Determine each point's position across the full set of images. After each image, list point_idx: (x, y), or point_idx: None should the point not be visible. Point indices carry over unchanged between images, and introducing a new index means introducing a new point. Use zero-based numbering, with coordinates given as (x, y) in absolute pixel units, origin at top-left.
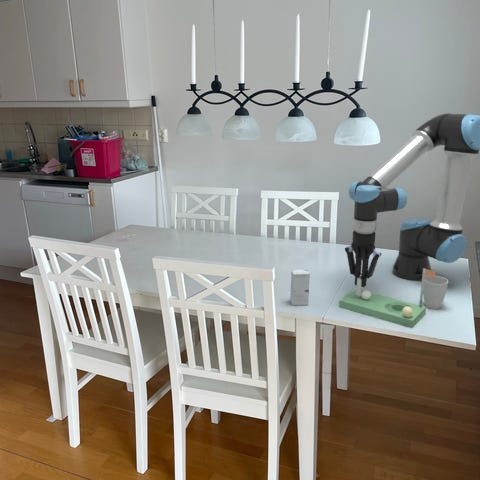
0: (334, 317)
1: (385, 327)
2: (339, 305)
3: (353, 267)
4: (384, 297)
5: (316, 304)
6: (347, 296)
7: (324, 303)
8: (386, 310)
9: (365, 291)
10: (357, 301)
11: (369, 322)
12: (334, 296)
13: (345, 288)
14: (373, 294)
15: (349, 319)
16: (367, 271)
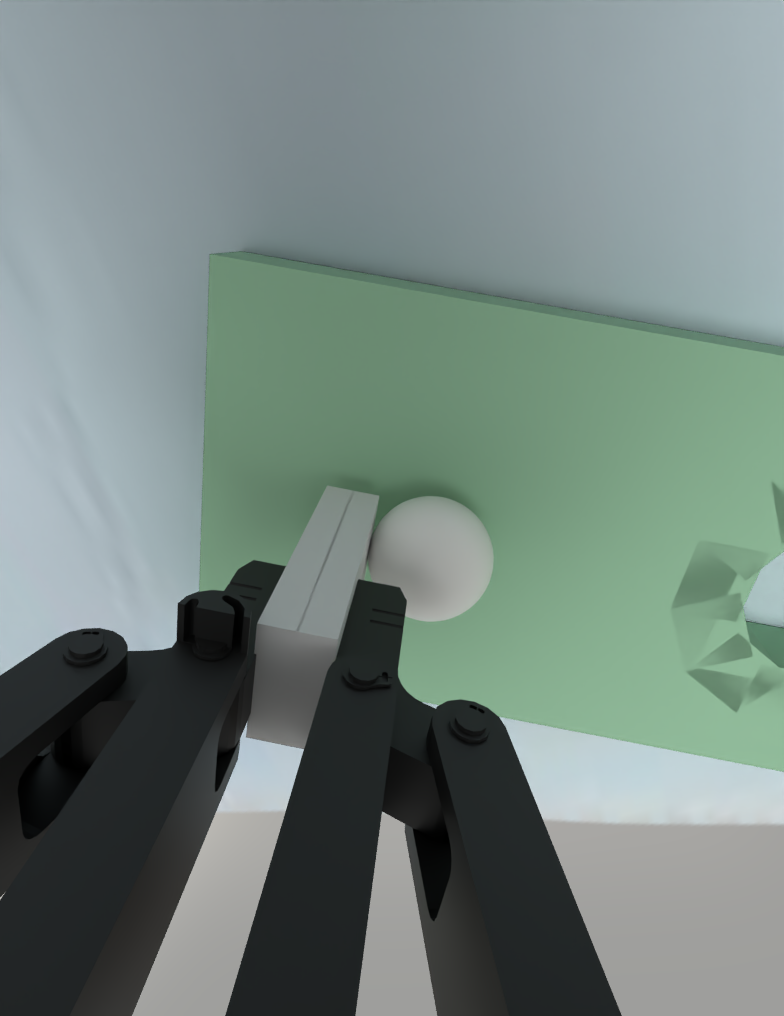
0: (274, 784)
1: (679, 802)
2: None
3: (9, 733)
4: (647, 382)
5: (40, 642)
6: (224, 541)
7: (82, 600)
8: (695, 701)
9: (422, 611)
10: None
11: (544, 773)
12: (69, 411)
13: (42, 84)
14: (488, 349)
15: None
16: (383, 783)
